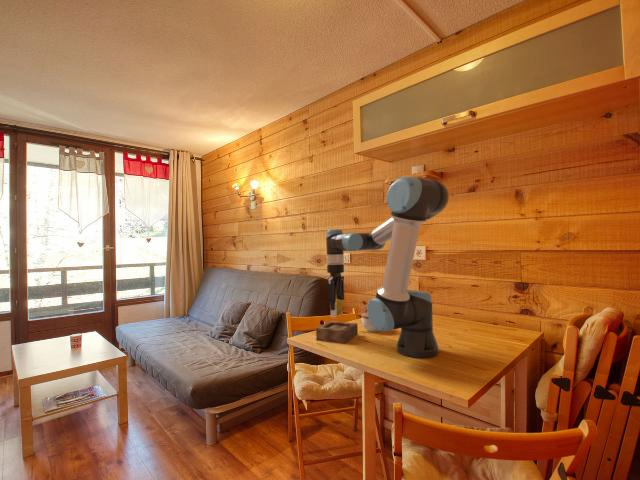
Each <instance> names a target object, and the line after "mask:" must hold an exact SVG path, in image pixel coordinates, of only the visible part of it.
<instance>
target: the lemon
mask: <svg viewBox="0 0 640 480" xmlns="http://www.w3.org/2000/svg"><path fill="white" fill-rule="evenodd" d="M336 302H337V317H338V316H339V315H340V313H341V312H342V311H343V310H344V309H343V308H344V307H343V306H344V305H343V301H342V302H341V301H340V300H339V299H337V297H336Z"/></svg>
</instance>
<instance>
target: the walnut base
mask: <svg viewBox="0 0 640 480" xmlns="http://www.w3.org/2000/svg"><path fill="white" fill-rule="evenodd" d="M358 335H359V333H358V323H355V322H344V321H336V320H335V321H334V320H333V321H332V320H329V321H327V322H325V323H323V324H321V325H320V326H317V327H315V336H316V337H315V339H316V341H322V342H331V343H339V344H347V343H349V342H350V341H352V340H353V339H354V338H356V337H357V336H358Z"/></svg>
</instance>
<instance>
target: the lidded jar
mask: <svg viewBox="0 0 640 480" xmlns="http://www.w3.org/2000/svg"><path fill="white" fill-rule="evenodd" d="M360 314H361V324H362V327H363V328H364V329H365V330H366V331H367V332H370V333H378V332H380V331H379V330H377V329H376V328H375V327H374V326H373V325H372V324H371V322H370V319H369V318H368V314H367V311H366V312H363V313H360Z"/></svg>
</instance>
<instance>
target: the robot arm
mask: <svg viewBox="0 0 640 480" xmlns="http://www.w3.org/2000/svg"><path fill="white" fill-rule="evenodd" d="M449 198H450V196H449V191H448V188H447V187H446V185H445V184H444V183H443V182H441V181H439V180H437V179H430V178H424V177H423V178H422V177H416V176H402V177H401V176H400V177H399V178H397V179H396V180H395V181H394V182H392V183H391V185H390V186H389V188H388V190H387V194H386V203H387V207H388V209H389V210H390V212H391V213H390V218H388V219H386V220H385V221H384V222H383V223H381V224H380V225H378V226H377V227H375V228H374V229H373V230H371V231H369V232H345V233H344V231H343V230H342V229H341V228H340V229H328V230H327V231H326V238H325V242H326V256H325V257H326V263H327V264H326V268H327V269H326V272H327V274H330V276H329V278H327V279H326V281H327V282H326V283H327V303H329V304H330V305H329V306H330V307H329V308H330V318H337V317H338V316H337V302H336V298H337V299H339V300H340V301H341V302H342V303H343V301H345V285H344V284H345V283H344V282H345V281H344V280H345V277H344V276H343V275H342V273H343V274H344V271H345V265H344V263H345V260H344V259H345V258H344V257H345V256H344V252H346V251H347V252H357V251H378V250H382V249H383V248H385V245H386V243H387V242H389V241H390V242H389V247H388V253H387V259H386V263H385V268H384V275H383V281H382V285H381V286H379V287H378V288H377V290H376V294H375V298H372V299H370V300H369V301H368V302H367V305H366V312H367V314H368V318H369V319H370V322H371V324H372V325H373V326H374V327H375V328H376V329H377V330H379V331H378V332H387V331H388V332H392V331H393V330H397V329H400V334H399V336H398V341H397V344H396V351H397V352H398V353H399V354H400V355H403V356H406V357H410V358H416V359H417V358H419V359H421V358H422V359H423V358H427V359H428V358H433V357H436V356H438V355H439V346H438V342H437V340H436V339H437V338H436V337H435V334H434V325H433V324H434V323H433V298H432V294H431V293H430V292H428V291H422V290H411V289H410V290H409V289H408V288H409V283H410V277H411V271H412V267H413V261H414V257H415V253H416V248H417V243H418V238H419V233H420V227H421V225H423V224H424V223H426V222H427V221H429V220H430V219H432V218H433V217H435V216H437V215H438V214H440V213H441V212H442V211H444V209H446V207H447V205H448V203H449V200H450V199H449ZM339 315H343V310H342V312H341V313H340V314H339Z"/></svg>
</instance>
